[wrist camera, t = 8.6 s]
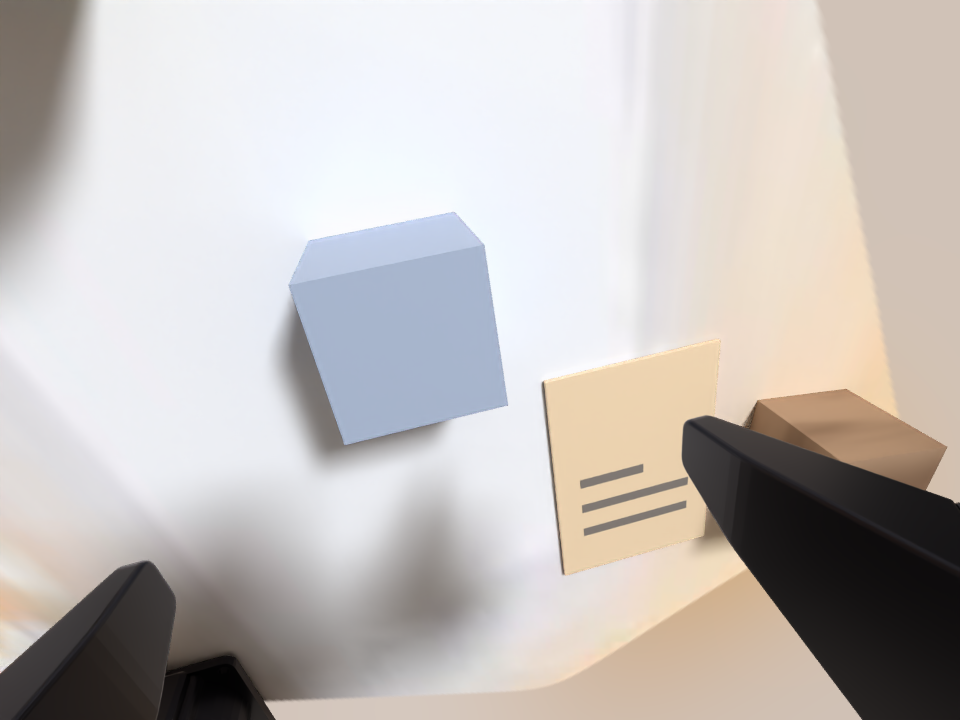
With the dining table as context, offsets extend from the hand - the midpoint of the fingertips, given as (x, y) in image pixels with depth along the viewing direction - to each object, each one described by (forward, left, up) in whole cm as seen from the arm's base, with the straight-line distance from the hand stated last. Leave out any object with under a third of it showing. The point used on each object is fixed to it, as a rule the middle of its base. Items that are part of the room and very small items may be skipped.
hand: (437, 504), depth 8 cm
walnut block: (-12, -17, -11) cm, 24 cm away
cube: (0, 0, -11) cm, 11 cm away
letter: (-11, -9, -11) cm, 18 cm away
